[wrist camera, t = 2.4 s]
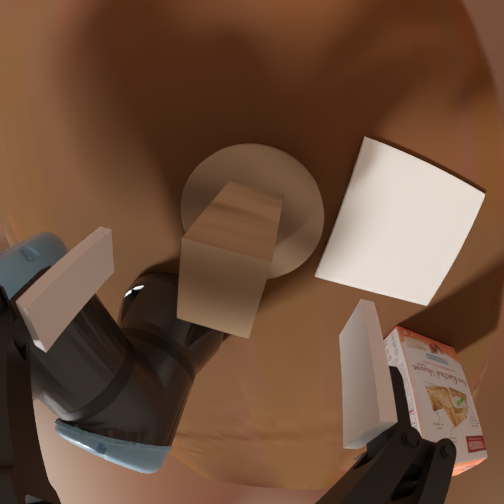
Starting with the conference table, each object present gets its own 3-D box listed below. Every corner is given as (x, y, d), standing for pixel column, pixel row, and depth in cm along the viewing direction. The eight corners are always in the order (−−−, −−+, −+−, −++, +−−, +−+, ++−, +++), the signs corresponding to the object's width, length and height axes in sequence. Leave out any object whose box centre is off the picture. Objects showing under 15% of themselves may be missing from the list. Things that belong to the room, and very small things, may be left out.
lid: (299, 285, 25) (293, 381, 16) (180, 253, 25) (126, 332, 16) (341, 165, 19) (376, 221, 10) (195, 130, 19) (116, 158, 11)
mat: (425, 303, 31) (426, 305, 30) (314, 274, 31) (314, 276, 31) (483, 193, 23) (485, 194, 22) (364, 136, 23) (365, 136, 23)
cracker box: (455, 344, 34) (489, 458, 16) (430, 367, 37) (454, 477, 19) (397, 321, 33) (429, 468, 15) (371, 348, 36) (386, 486, 18)
